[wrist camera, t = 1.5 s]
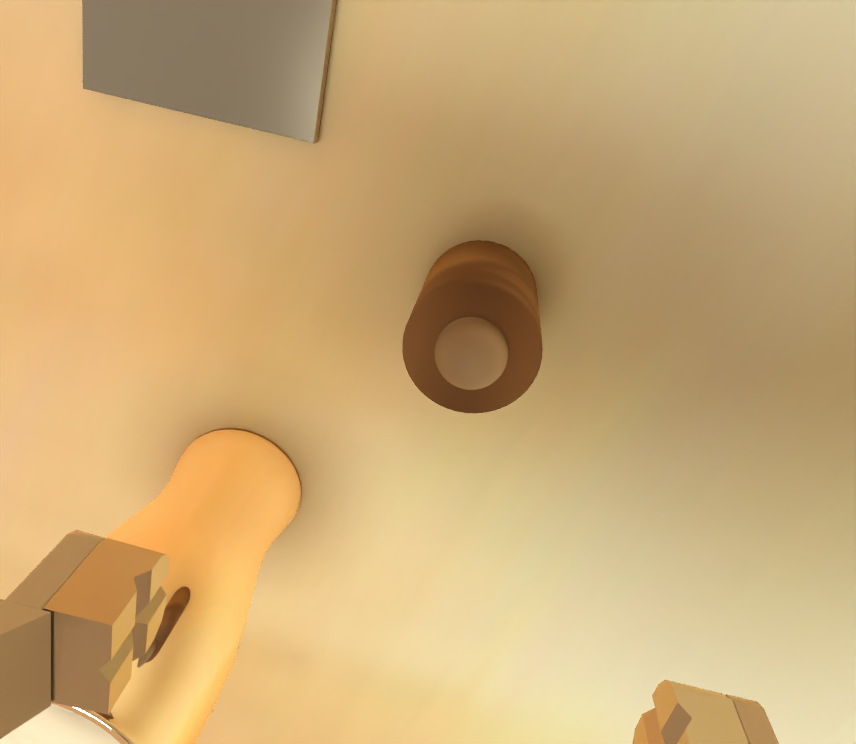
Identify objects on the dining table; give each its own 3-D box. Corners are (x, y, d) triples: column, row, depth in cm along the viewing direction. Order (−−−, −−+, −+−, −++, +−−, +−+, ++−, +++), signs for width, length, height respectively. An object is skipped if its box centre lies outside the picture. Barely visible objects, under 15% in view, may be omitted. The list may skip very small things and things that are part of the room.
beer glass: (190, 397, 31) (-63, 648, 17) (329, 454, 31) (189, 744, 18) (158, 509, 34) (-79, 800, 20) (287, 560, 34) (138, 879, 21)
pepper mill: (550, 255, 27) (562, 317, 20) (519, 359, 28) (521, 447, 22) (437, 228, 27) (411, 280, 20) (414, 334, 29) (383, 413, 22)
